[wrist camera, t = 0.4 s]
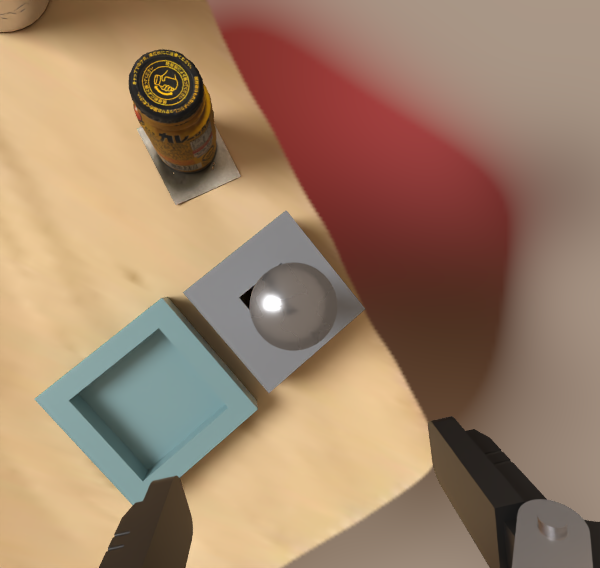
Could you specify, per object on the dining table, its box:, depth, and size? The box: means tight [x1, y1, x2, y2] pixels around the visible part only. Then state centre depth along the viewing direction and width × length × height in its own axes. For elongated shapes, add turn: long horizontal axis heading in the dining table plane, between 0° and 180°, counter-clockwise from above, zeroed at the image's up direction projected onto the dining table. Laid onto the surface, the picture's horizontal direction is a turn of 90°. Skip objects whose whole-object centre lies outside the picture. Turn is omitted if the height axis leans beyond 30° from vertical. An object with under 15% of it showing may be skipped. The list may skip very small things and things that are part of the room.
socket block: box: [183, 211, 365, 393], centre depth 38 cm, size 12×12×5 cm
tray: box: [35, 297, 258, 505], centre depth 37 cm, size 14×14×3 cm
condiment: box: [129, 50, 240, 205], centre depth 33 cm, size 7×8×12 cm
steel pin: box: [250, 262, 337, 351], centre depth 32 cm, size 6×6×16 cm
